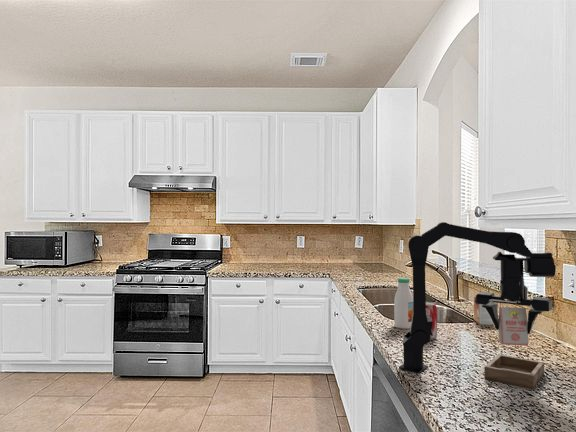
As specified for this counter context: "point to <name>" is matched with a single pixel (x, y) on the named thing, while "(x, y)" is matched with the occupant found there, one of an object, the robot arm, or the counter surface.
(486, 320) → the small box
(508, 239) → the robot arm
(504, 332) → the tea bag
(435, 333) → the soda can
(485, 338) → the counter surface
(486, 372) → the walnut tray
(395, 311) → the milk bottle
